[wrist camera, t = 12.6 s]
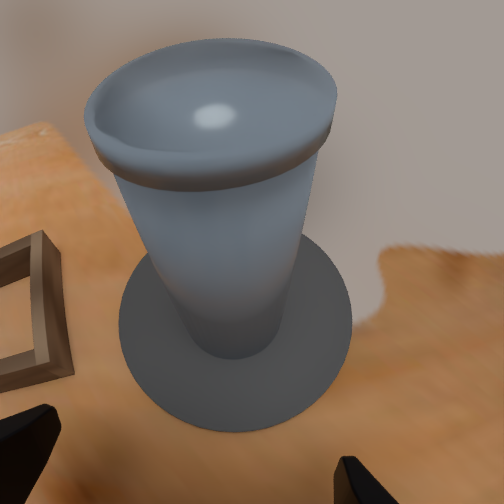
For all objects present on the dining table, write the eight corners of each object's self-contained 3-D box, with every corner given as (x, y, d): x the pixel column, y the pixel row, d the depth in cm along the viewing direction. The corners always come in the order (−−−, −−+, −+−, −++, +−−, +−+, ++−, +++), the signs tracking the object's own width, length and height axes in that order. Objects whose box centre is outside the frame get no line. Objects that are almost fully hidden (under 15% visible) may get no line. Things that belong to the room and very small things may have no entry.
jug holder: (74, 374, 17) (49, 361, 14) (-23, 397, 15) (-49, 387, 12) (60, 252, 22) (42, 229, 19) (-25, 287, 20) (-45, 270, 17)
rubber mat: (260, 479, 14) (261, 481, 13) (83, 330, 18) (77, 326, 18) (384, 289, 20) (388, 284, 20) (217, 193, 25) (216, 186, 24)
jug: (281, 368, 17) (352, 174, 5) (172, 354, 17) (37, 162, 5) (289, 249, 21) (322, 30, 9) (197, 240, 21) (156, 27, 9)
